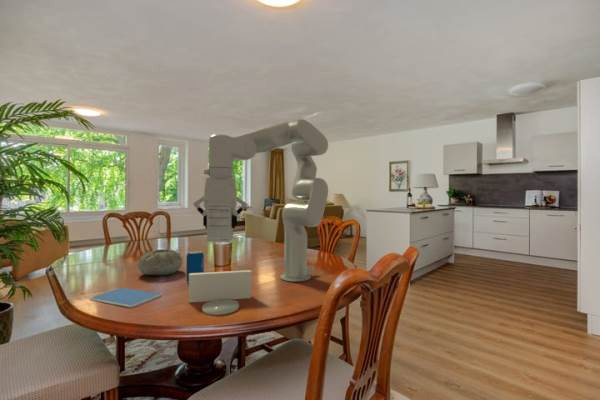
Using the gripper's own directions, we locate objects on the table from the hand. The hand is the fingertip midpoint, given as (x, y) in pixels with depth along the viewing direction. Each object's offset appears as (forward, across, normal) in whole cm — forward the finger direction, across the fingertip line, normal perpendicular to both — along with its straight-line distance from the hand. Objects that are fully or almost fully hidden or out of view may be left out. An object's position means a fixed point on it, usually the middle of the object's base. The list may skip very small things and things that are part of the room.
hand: (220, 227), depth 100 cm
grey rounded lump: (+24, -26, +40) cm, 54 cm away
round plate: (+24, 0, -6) cm, 25 cm away
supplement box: (+4, 0, 0) cm, 4 cm away
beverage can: (+24, -10, +24) cm, 36 cm away
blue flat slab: (+25, -31, +10) cm, 41 cm away
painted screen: (+24, 0, +2) cm, 24 cm away
